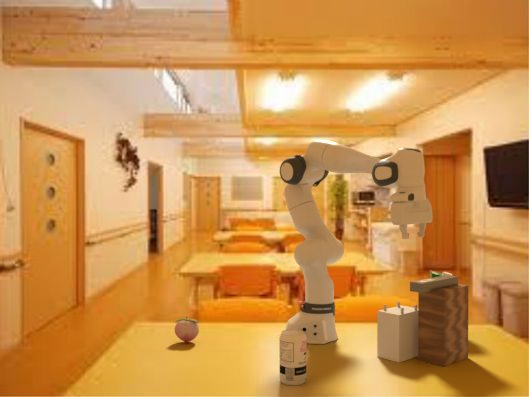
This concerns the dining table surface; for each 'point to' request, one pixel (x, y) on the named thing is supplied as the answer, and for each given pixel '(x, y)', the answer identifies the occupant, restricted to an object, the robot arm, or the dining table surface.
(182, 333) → the decorative fruit
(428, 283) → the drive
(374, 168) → the robot arm
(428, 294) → the stand
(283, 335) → the supplement can
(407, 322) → the dock
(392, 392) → the dining table surface
